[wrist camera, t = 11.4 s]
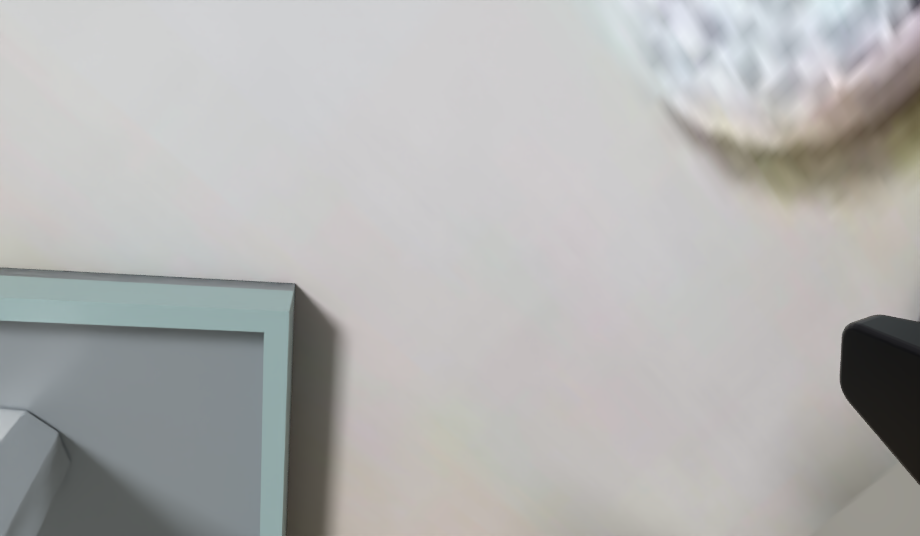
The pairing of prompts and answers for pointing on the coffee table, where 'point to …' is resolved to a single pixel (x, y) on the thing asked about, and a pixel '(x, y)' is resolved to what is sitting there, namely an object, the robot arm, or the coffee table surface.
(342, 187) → the coffee table surface
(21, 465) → the milkshake
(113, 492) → the tray
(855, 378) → the robot arm
